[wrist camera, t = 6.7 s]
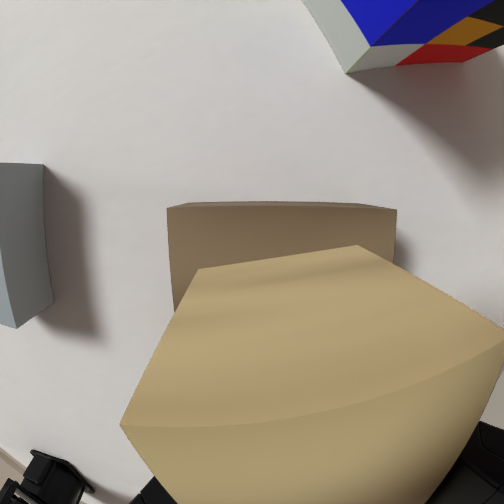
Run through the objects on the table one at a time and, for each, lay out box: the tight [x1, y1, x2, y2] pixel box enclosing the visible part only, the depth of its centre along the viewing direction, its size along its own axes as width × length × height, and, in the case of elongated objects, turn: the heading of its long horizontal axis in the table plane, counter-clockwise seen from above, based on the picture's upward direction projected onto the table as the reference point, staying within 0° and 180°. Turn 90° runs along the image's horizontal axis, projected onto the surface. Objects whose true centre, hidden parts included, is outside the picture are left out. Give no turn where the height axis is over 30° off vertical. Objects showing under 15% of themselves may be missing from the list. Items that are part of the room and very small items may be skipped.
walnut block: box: [167, 201, 397, 312], centre depth 12 cm, size 10×8×4 cm
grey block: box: [0, 163, 54, 329], centre depth 11 cm, size 8×4×4 cm, turn 178°
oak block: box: [119, 245, 504, 504], centre depth 5 cm, size 8×4×5 cm, turn 8°
